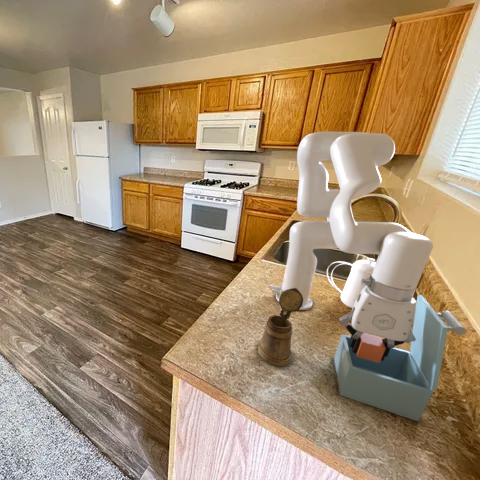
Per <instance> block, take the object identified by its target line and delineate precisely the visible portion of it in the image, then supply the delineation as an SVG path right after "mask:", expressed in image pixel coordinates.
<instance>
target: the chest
mask: <svg viewBox="0 0 480 480" xmlns="http://www.w3.org/2000/svg"><path fill="white" fill-rule="evenodd" d="M350 338H351V335H348V334H344V333H341V335H340V339H339V341H338V346H337V348H336V352H335V355H334V358H333V360H334V367H335V372H336V379H337V385H338V390H339V395H340V396H342V397H345V398H348V399H350V400H353V401H357V402H359V403H362V404H365V405H368V406H371V407H374V408H377V409H380V410H383V411H386V412H388V413H389V412H390V413H392V414H395V415H398V416H401V417H403V418H407V419H409V420H413V421H415V422H419V421H420V419H421V417H422V415H423V413H424V412H425V410H426V408H427V405H428V404H429V401H430V400H431V398H432V396H433V394H434V391H432V390H431V388H430V386H429V385H428V383H427V381H426V379H425V377H424V375H423V373H422V371H421V370H420V368H419V366H418V364H417V362H416V360H415V358H414V356H413V355H412V353H411V351H410V350H406V349H402V348H399V347H394V348H392V349H390V351H389V354H388V356H387V357H386V356H385V358H384V360H383V361H380V363H377V362H374V361H370V360H367V359H363V358H360V357H357V356H356V353H353V352H352V348H351V347H350V346H349V341H350Z"/></svg>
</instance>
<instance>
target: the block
mask: <svg viewBox="0 0 480 480" xmlns="http://www.w3.org/2000/svg"><path fill="white" fill-rule="evenodd" d="M382 339H383V337H379V336H375V335H371V334H367V333H363V334H362V335H361V336H360V341H361V342H360V345H359V348H358V350H357V353H356V356H357V357H360V358H363V359H367V360H370V361H374V362H377V363H380V361H381V359H382V356H383V354H384V351H385V349H386V348H385V345H384V343H383V341H382Z"/></svg>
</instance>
